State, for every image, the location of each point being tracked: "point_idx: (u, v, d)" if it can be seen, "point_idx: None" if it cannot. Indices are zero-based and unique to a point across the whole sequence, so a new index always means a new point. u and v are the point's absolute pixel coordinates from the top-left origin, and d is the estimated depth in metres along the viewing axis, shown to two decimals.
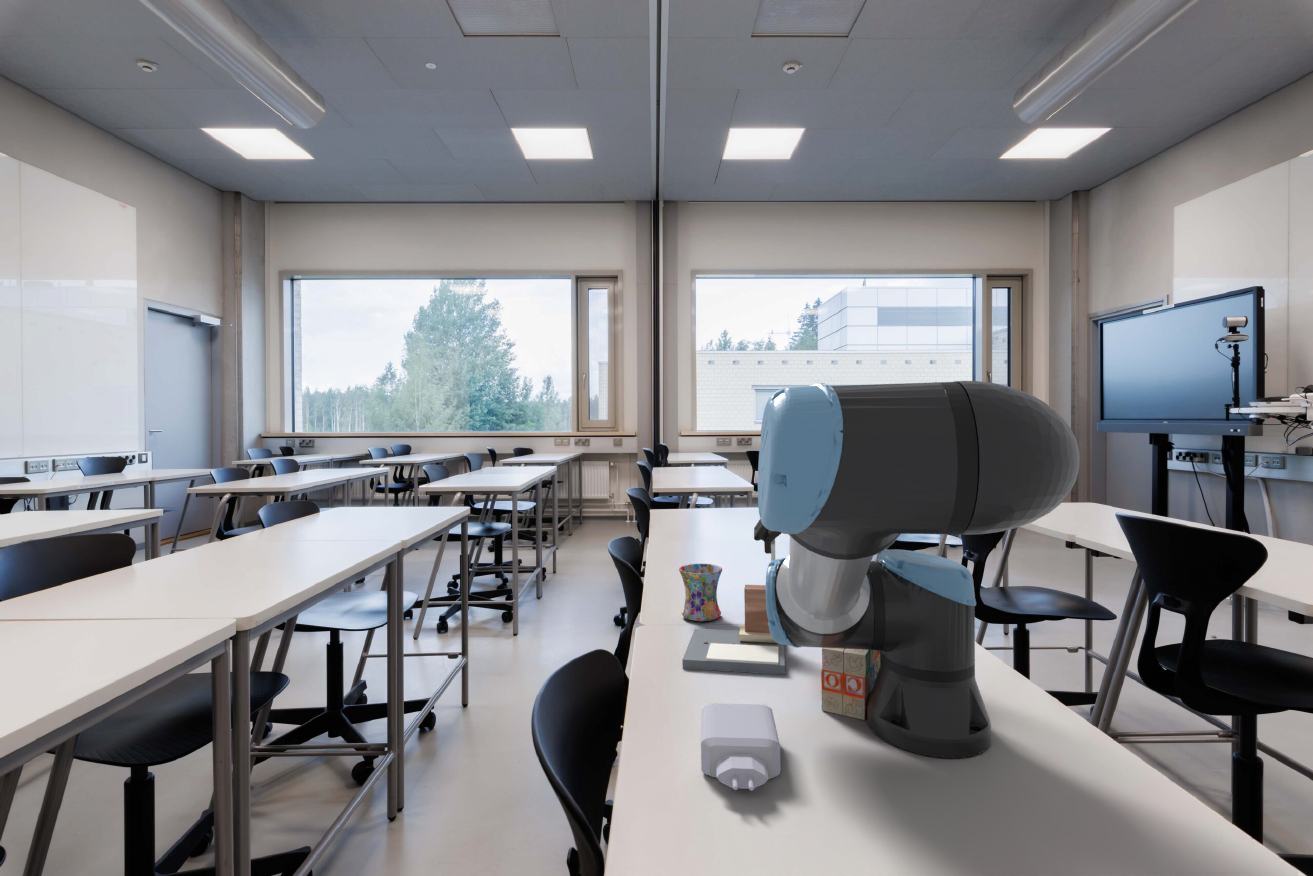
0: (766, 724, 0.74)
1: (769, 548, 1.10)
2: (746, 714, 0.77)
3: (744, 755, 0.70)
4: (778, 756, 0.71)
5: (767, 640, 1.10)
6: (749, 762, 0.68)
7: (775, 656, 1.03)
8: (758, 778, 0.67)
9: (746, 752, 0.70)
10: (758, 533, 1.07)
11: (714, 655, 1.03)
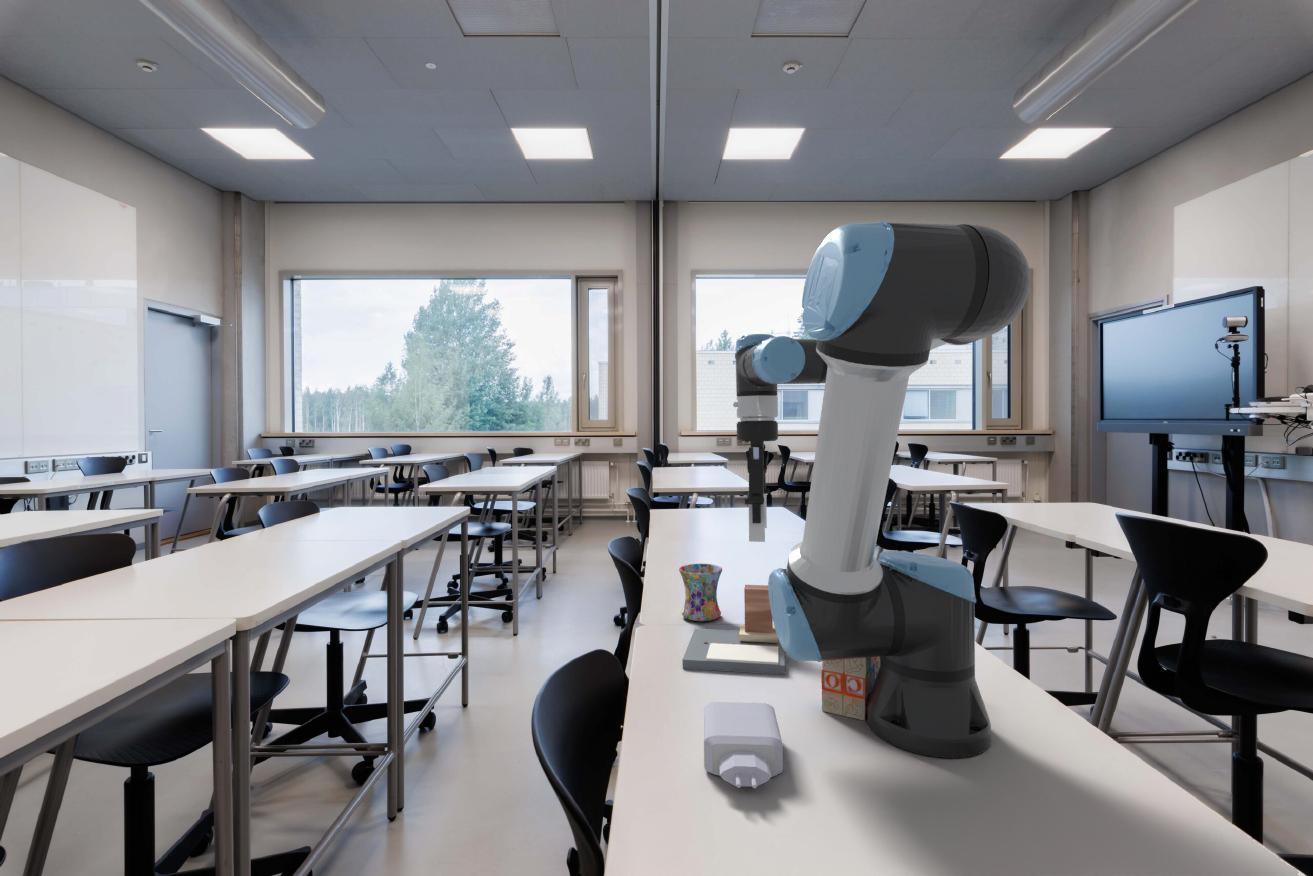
0: (768, 722, 0.75)
1: (760, 515, 1.05)
2: (748, 712, 0.77)
3: (747, 753, 0.70)
4: (781, 754, 0.71)
5: (767, 640, 1.10)
6: (752, 760, 0.69)
7: (775, 656, 1.03)
8: (761, 776, 0.67)
9: (749, 750, 0.71)
10: (763, 491, 1.03)
11: (714, 655, 1.03)
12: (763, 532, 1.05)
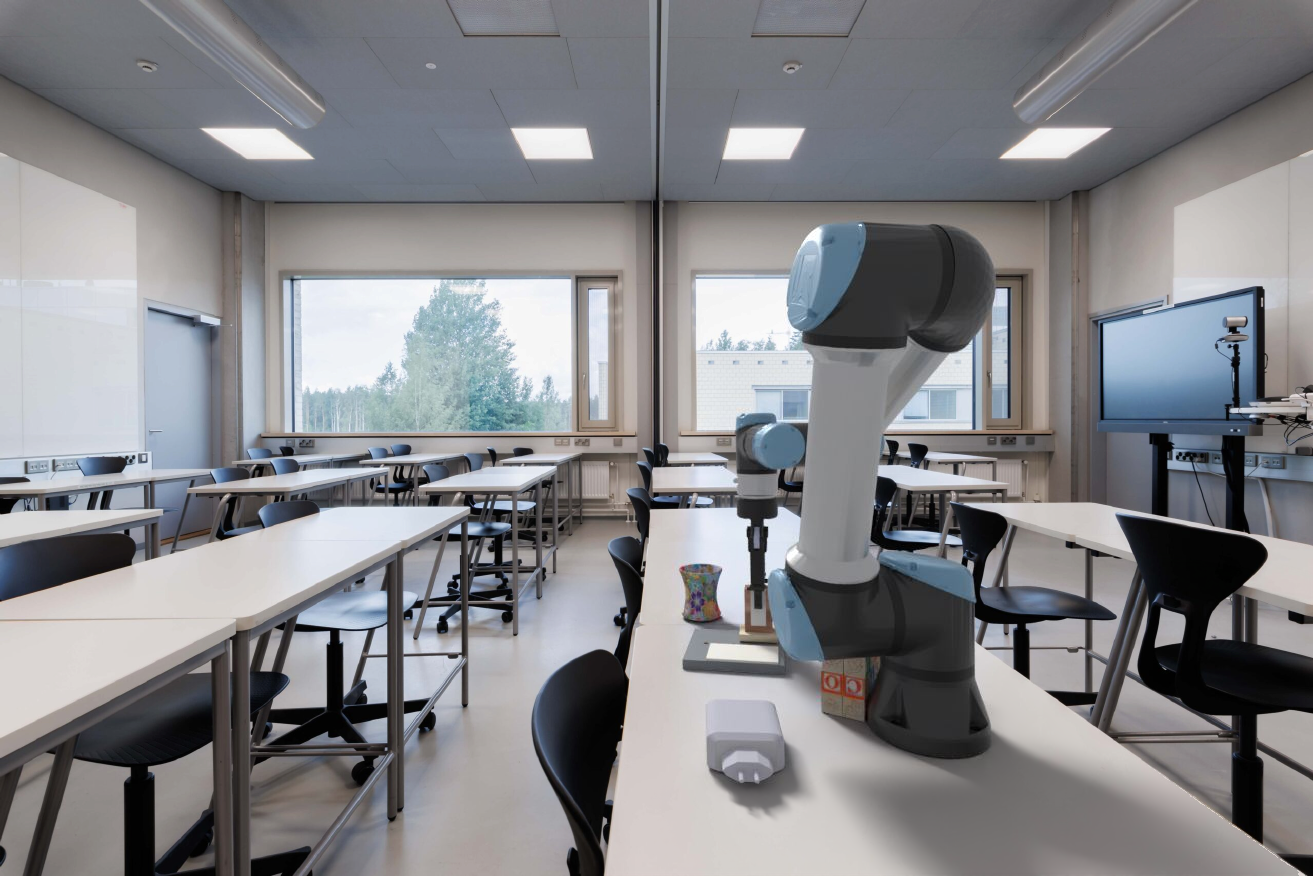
0: (770, 719, 0.76)
1: (762, 600, 1.10)
2: (750, 709, 0.78)
3: (749, 749, 0.71)
4: (782, 750, 0.72)
5: (767, 640, 1.10)
6: (754, 756, 0.70)
7: (775, 656, 1.03)
8: (763, 772, 0.68)
9: (751, 746, 0.71)
10: (764, 580, 1.07)
11: (714, 655, 1.03)
12: (764, 617, 1.10)
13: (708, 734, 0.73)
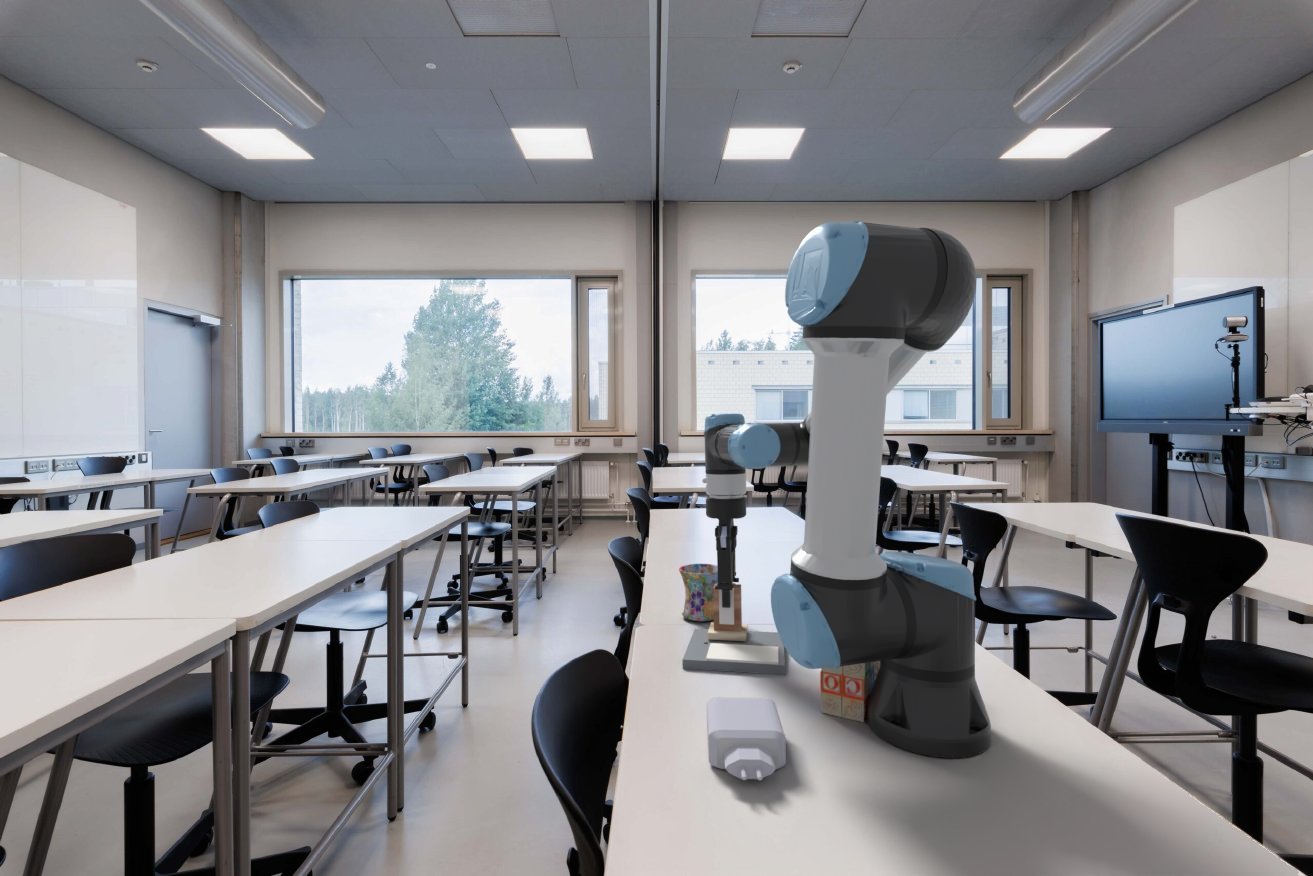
0: (770, 717, 0.76)
1: (730, 599, 1.11)
2: (751, 707, 0.79)
3: (751, 747, 0.72)
4: (784, 747, 0.73)
5: (735, 638, 1.11)
6: (756, 753, 0.70)
7: (775, 656, 1.03)
8: (765, 769, 0.69)
9: (753, 743, 0.72)
10: (731, 579, 1.09)
11: (714, 655, 1.03)
12: (732, 615, 1.11)
13: (710, 732, 0.74)
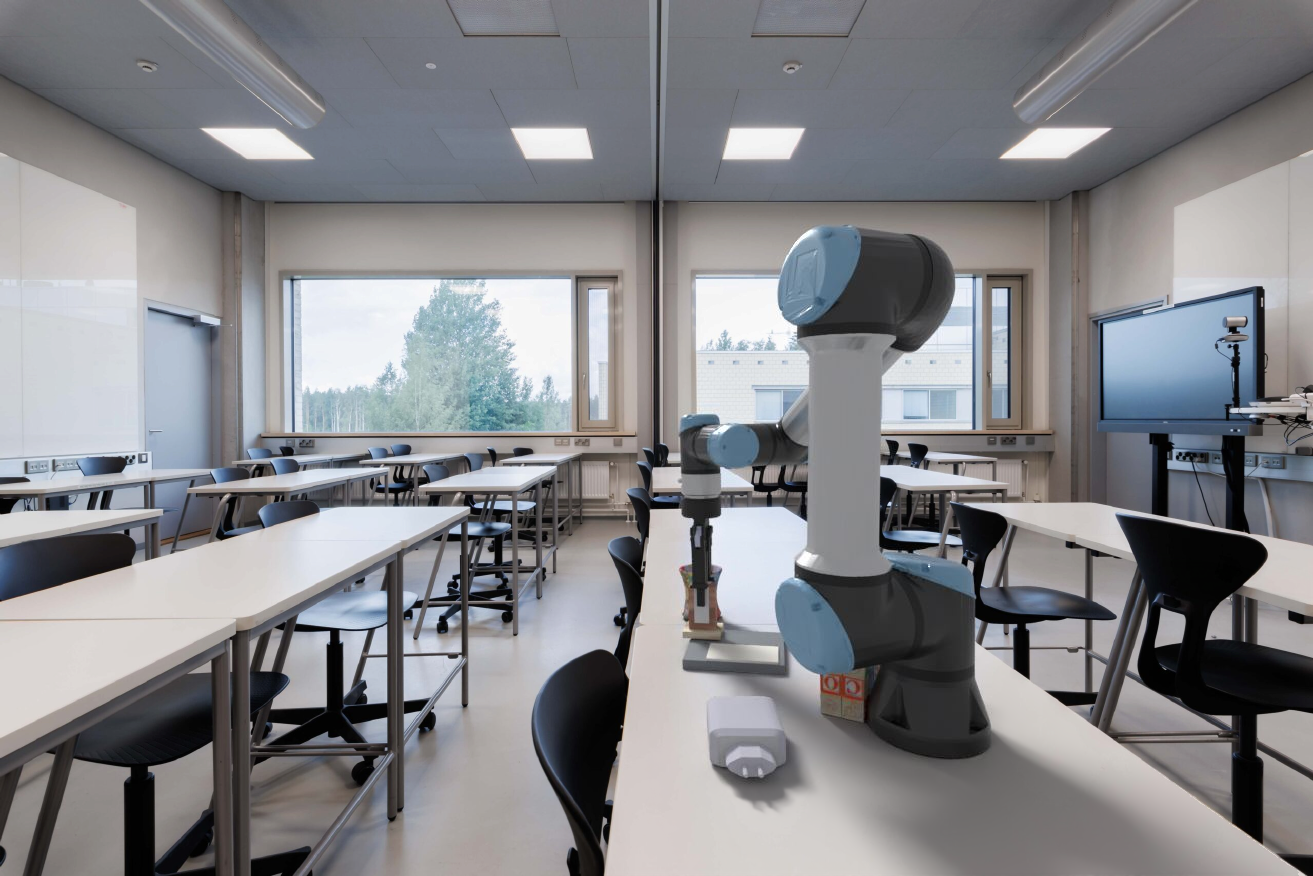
0: (771, 715, 0.77)
1: (704, 598, 1.12)
2: (751, 705, 0.79)
3: (752, 744, 0.72)
4: (784, 745, 0.73)
5: (710, 637, 1.12)
6: (757, 751, 0.71)
7: (775, 656, 1.03)
8: (766, 766, 0.69)
9: (753, 741, 0.73)
10: (705, 579, 1.09)
11: (714, 655, 1.03)
12: (707, 614, 1.12)
13: (711, 730, 0.74)
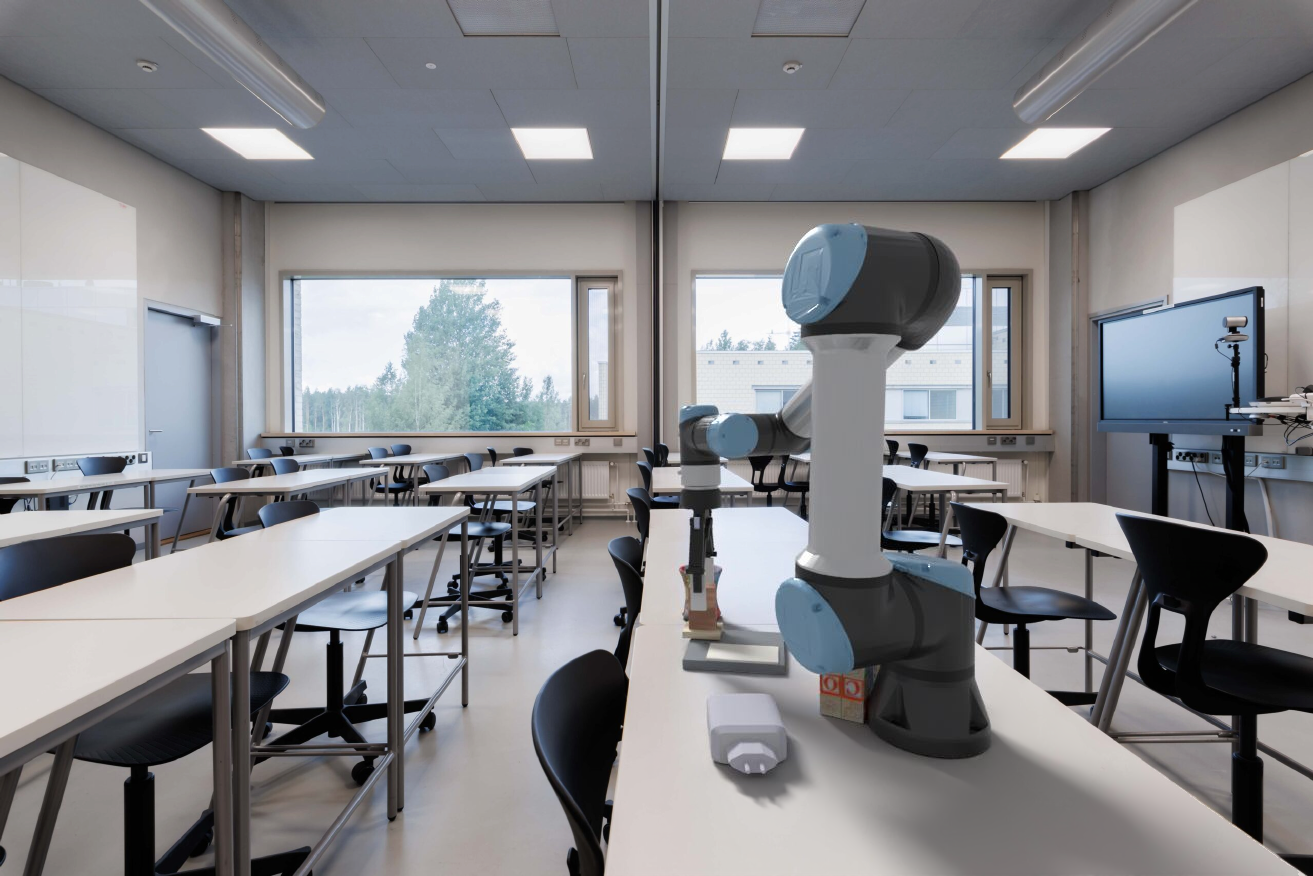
0: (771, 711, 0.78)
1: (701, 584, 1.07)
2: (751, 703, 0.80)
3: (753, 741, 0.73)
4: (785, 741, 0.74)
5: (709, 637, 1.12)
6: (759, 747, 0.71)
7: (775, 656, 1.03)
8: (768, 762, 0.70)
9: (755, 738, 0.73)
10: (702, 562, 1.05)
11: (714, 655, 1.03)
12: (704, 601, 1.07)
13: (712, 727, 0.75)
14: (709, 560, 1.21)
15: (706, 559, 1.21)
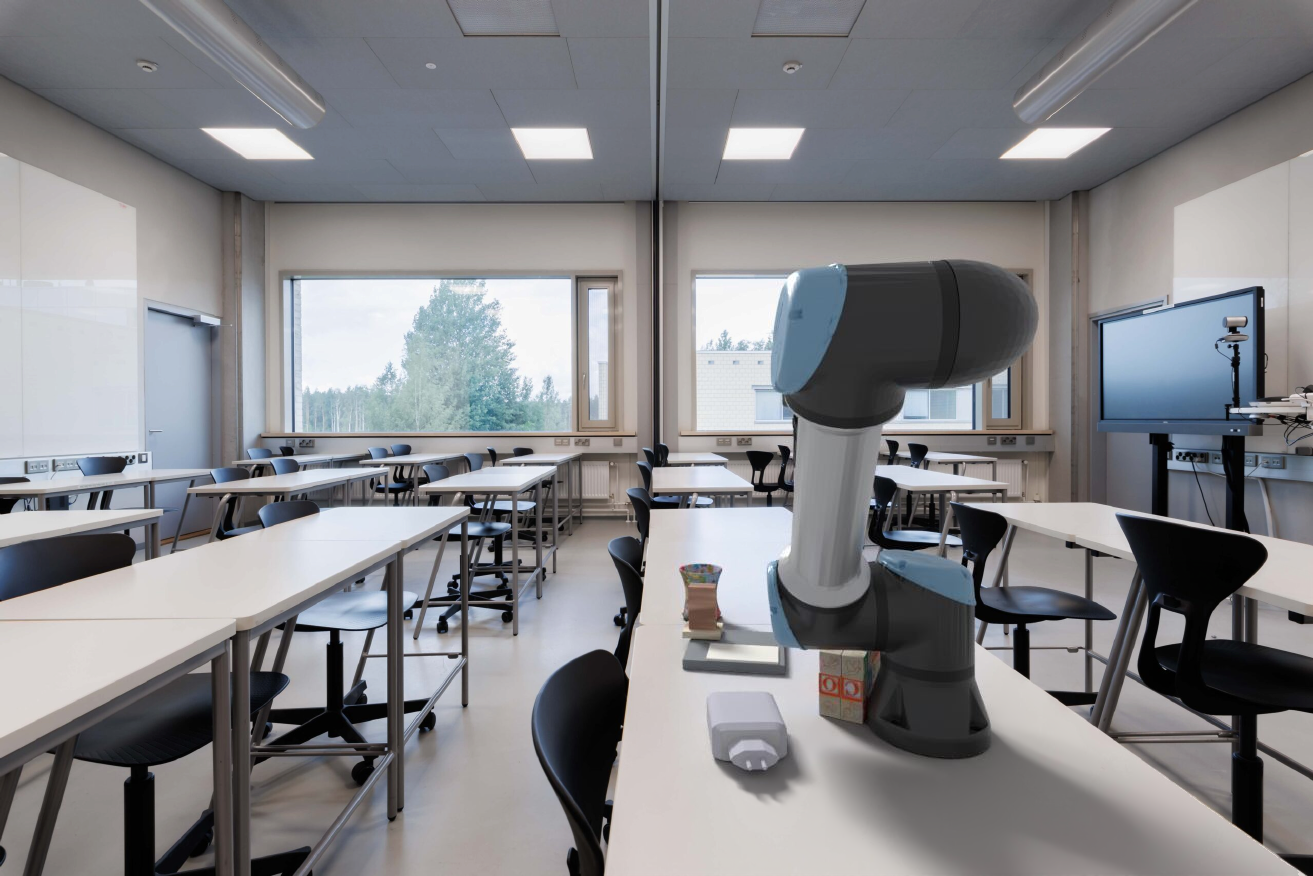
0: (771, 709, 0.78)
1: None
2: (750, 700, 0.81)
3: (754, 738, 0.73)
4: (785, 738, 0.75)
5: (709, 637, 1.12)
6: (760, 744, 0.72)
7: (775, 656, 1.03)
8: (769, 759, 0.71)
9: (755, 735, 0.74)
10: None
11: (714, 655, 1.03)
12: None
13: (713, 725, 0.75)
14: None
15: None
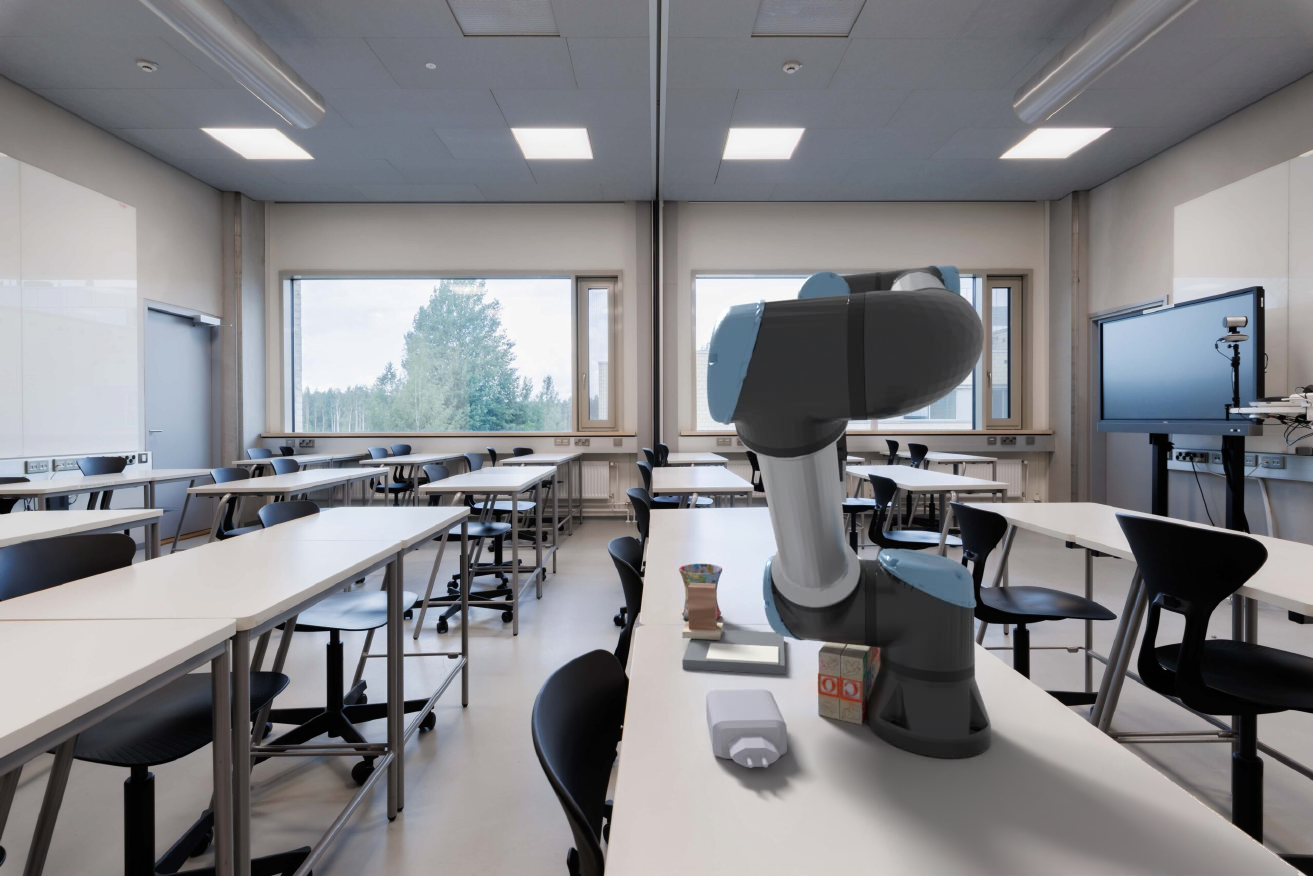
0: (770, 707, 0.79)
1: None
2: (750, 698, 0.81)
3: (754, 736, 0.74)
4: (785, 735, 0.75)
5: (709, 637, 1.12)
6: (760, 742, 0.73)
7: (775, 656, 1.03)
8: (770, 756, 0.71)
9: (756, 733, 0.75)
10: None
11: (714, 655, 1.03)
12: (844, 492, 0.95)
13: (714, 723, 0.76)
14: None
15: None
